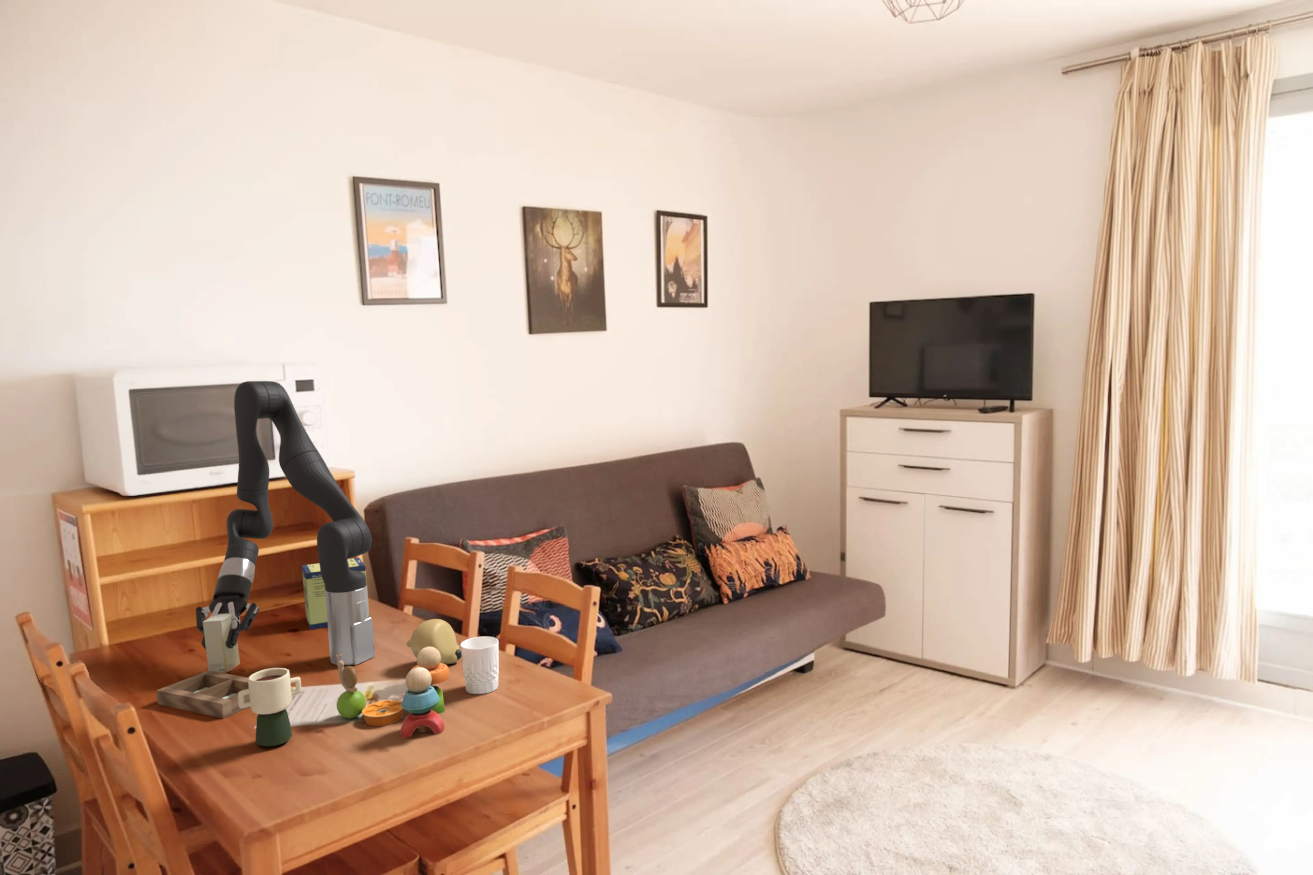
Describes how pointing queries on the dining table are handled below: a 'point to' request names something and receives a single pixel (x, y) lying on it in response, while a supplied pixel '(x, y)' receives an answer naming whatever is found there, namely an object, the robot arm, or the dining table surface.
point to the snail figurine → (349, 692)
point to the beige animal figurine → (436, 640)
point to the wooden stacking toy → (415, 698)
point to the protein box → (320, 592)
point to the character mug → (270, 704)
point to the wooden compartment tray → (206, 694)
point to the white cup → (480, 664)
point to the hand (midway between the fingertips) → (218, 647)
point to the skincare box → (220, 644)
